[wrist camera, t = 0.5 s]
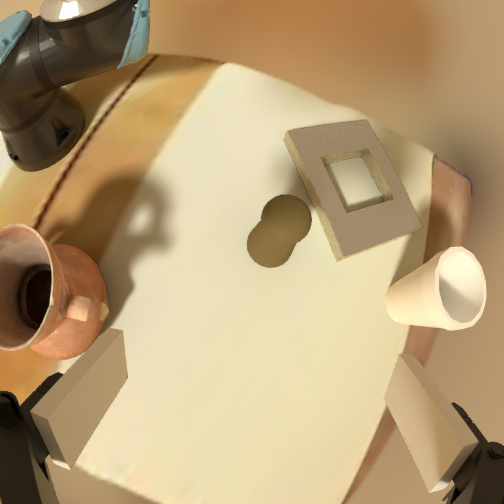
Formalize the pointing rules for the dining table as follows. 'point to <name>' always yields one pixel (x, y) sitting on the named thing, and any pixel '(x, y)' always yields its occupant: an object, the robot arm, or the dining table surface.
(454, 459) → the robot arm
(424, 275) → the foam cup
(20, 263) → the ceramic jug
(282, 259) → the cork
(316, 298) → the dining table surface
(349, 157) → the plate
